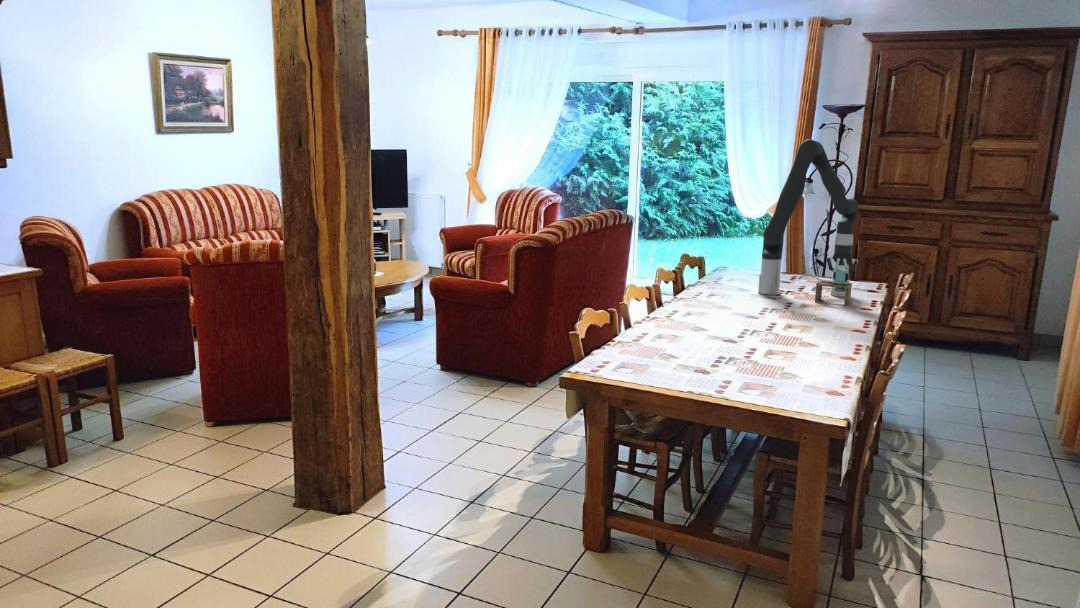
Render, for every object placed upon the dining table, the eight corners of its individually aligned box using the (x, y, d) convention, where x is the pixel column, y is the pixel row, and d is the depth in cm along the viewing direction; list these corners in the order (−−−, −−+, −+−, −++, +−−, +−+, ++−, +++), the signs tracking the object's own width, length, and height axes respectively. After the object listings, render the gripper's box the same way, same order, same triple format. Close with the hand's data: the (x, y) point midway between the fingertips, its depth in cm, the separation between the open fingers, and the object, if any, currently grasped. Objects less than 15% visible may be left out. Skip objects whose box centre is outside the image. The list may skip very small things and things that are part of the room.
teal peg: (830, 291, 351) (832, 270, 349) (833, 288, 357) (835, 268, 355) (846, 292, 348) (848, 271, 346) (848, 290, 354) (850, 269, 352)
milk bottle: (829, 296, 368) (833, 254, 364) (831, 293, 375) (835, 252, 370) (846, 297, 365) (850, 256, 360) (848, 294, 371) (852, 253, 367)
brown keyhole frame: (814, 302, 355) (816, 283, 353) (818, 298, 362) (820, 279, 360) (846, 305, 348) (848, 286, 346) (850, 302, 355) (851, 283, 353)
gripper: (861, 243, 347) (858, 280, 351) (828, 241, 354) (825, 277, 358) (859, 245, 341) (855, 283, 345) (825, 243, 348) (822, 280, 352)
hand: (840, 280), depth 351 cm, fingers closed on teal peg, 4 cm apart
